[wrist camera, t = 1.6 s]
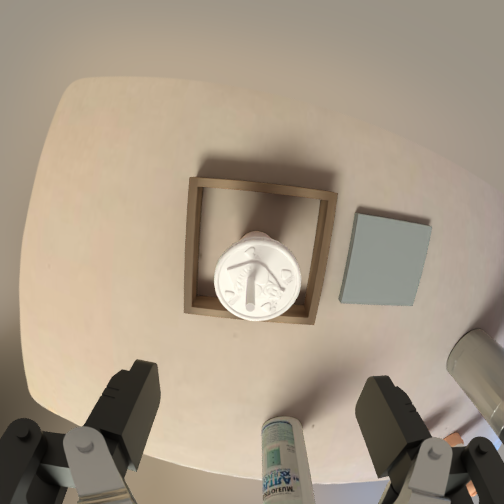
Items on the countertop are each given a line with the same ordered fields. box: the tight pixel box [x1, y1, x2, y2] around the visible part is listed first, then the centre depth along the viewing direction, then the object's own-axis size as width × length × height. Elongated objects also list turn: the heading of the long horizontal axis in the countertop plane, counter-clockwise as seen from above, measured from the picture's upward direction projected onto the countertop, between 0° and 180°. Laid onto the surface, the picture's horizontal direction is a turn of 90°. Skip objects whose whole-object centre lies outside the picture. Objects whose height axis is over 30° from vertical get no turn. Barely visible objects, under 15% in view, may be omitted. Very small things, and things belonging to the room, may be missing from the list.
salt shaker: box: [443, 433, 477, 496], centre depth 33 cm, size 7×7×19 cm
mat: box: [339, 213, 432, 306], centre depth 29 cm, size 10×10×1 cm
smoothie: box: [214, 231, 301, 321], centre depth 23 cm, size 6×6×14 cm
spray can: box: [262, 416, 315, 504], centre depth 27 cm, size 6×6×20 cm
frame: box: [184, 177, 338, 325], centre depth 28 cm, size 14×14×3 cm
